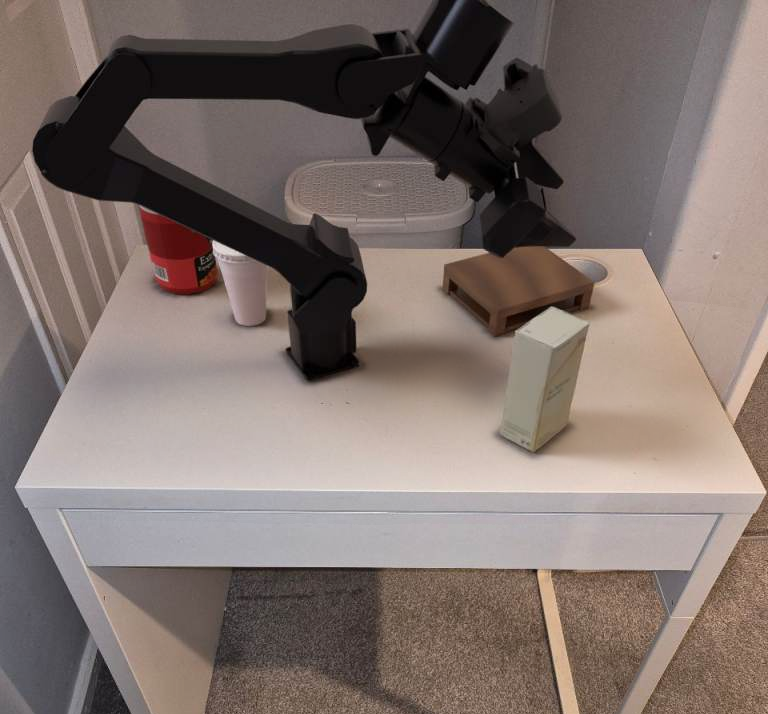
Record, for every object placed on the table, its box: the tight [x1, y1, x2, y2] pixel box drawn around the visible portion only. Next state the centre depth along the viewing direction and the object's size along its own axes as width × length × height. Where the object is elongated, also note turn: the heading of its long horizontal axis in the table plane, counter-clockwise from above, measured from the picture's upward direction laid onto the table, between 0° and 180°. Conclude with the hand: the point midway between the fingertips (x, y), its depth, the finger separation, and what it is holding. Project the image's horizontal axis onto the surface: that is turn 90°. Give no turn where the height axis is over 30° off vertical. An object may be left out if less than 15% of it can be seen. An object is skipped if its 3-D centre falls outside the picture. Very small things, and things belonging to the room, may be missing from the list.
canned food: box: [138, 205, 219, 295], centre depth 94 cm, size 8×8×11 cm
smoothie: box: [212, 240, 268, 327], centre depth 87 cm, size 6×6×14 cm
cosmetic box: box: [499, 307, 590, 453], centre depth 73 cm, size 6×4×12 cm
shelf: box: [442, 246, 596, 337], centre depth 94 cm, size 14×12×4 cm
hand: (566, 212), depth 77 cm, fingers open, 9 cm apart
